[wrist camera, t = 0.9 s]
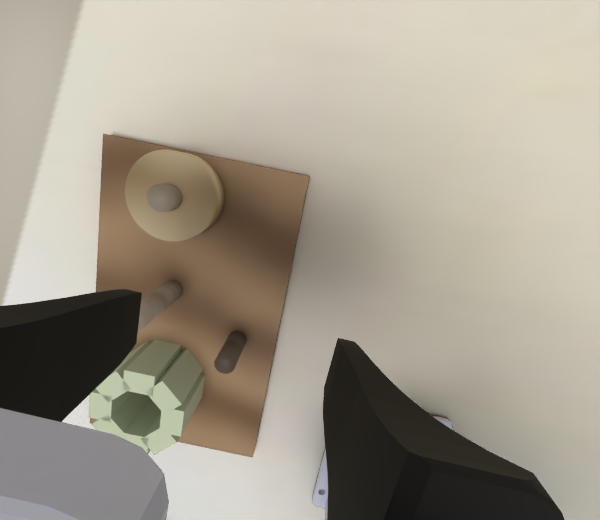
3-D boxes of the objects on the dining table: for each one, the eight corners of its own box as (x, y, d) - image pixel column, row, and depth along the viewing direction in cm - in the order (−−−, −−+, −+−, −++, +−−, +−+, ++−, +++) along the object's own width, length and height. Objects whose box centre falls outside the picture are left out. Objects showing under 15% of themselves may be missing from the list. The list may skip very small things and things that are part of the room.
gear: (198, 419, 23) (177, 462, 20) (122, 403, 23) (87, 443, 20) (208, 350, 22) (187, 383, 18) (127, 333, 22) (91, 363, 18)
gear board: (254, 448, 24) (238, 520, 19) (97, 415, 24) (38, 478, 19) (309, 176, 19) (306, 175, 14) (111, 135, 20) (38, 120, 14)
